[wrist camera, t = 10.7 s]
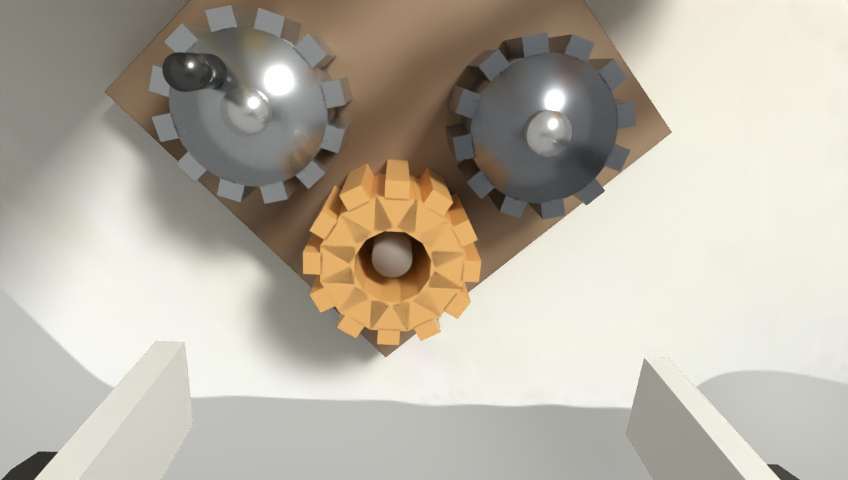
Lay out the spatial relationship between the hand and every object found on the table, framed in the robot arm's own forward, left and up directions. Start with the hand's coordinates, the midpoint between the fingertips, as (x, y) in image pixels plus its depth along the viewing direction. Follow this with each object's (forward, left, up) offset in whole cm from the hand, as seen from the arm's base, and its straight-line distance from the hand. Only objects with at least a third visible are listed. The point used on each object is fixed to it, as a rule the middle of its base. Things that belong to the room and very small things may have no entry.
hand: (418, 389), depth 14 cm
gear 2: (0, -9, -15) cm, 17 cm away
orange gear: (0, +1, -15) cm, 15 cm away
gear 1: (+10, +1, -15) cm, 18 cm away
